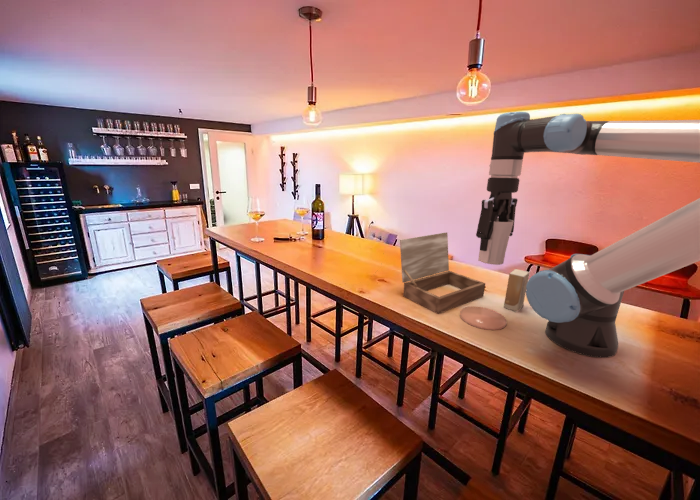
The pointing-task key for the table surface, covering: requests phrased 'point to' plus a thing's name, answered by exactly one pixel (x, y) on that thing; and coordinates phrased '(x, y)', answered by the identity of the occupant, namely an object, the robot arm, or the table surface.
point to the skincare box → (516, 290)
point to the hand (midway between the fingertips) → (491, 259)
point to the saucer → (483, 318)
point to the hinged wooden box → (431, 259)
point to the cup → (499, 241)
